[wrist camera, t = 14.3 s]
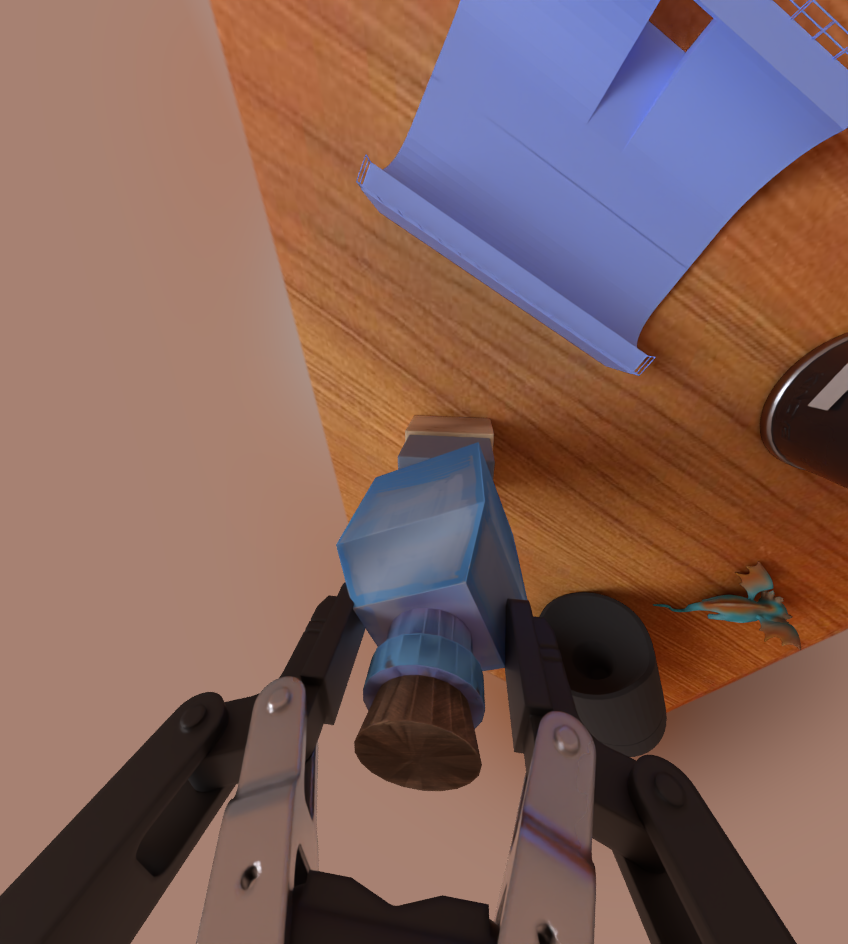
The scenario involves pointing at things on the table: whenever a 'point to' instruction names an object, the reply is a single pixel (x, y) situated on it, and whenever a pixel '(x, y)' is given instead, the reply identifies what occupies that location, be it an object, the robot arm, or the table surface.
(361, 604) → the perfume bottle
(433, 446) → the top block
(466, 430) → the base block
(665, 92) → the half pipe
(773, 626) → the dragon figurine
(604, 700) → the pen holder
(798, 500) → the table surface
